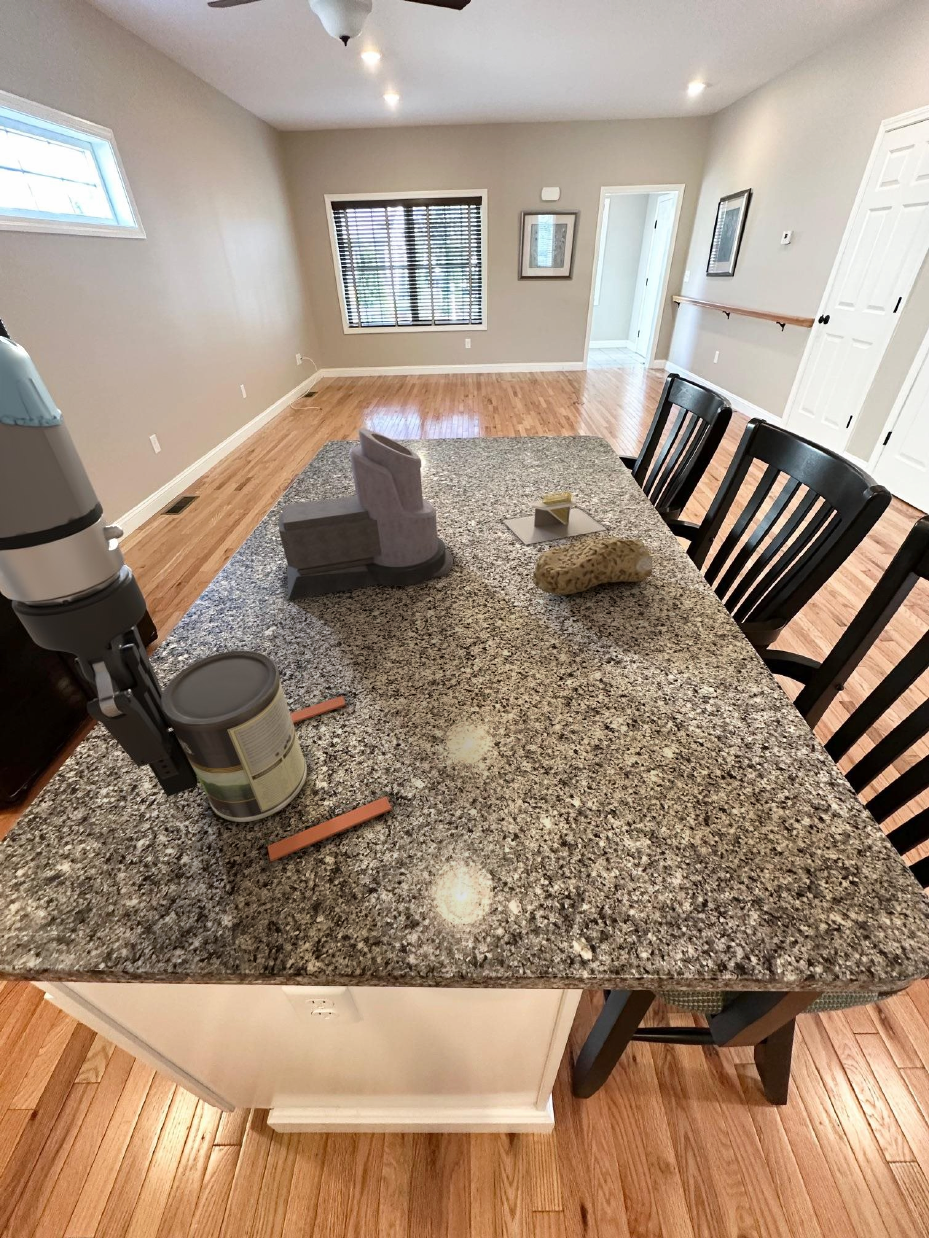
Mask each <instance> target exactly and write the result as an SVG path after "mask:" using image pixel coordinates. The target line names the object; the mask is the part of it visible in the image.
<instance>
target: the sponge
mask: <svg viewBox="0 0 929 1238" xmlns="http://www.w3.org/2000/svg"><path fill="white" fill-rule="evenodd" d="M534 565H535V568H534V571H533V573H532V575H533V580H532V583H533V584H534V585H535V587H537V588H538V589H539V590H541V591H542V592H545V593H550V594H552V595H555V596H559V595H560V596H561V595H573V594H577V593H578V592H579V593H581V592H584V591H587V590H590V588H594V587H596V586H598V585H600V584H608V583H617V582H629V583H638V582H641V581H645V580H646V579H647V578H649V577H650V576H651V575H652V574H653V557H651V555H650V553H649V550H648V549H647V548H646V547H645V544H644V542H643V541H641V540H639V539H637V538H632V539H631V538H630V539H625V538H618V537H611V538H610V537H609V538H608V537H607V538H599V539H589V540H584V541H577V542H573V543H570V544H567V545H561V546H553V547H552V548H549V549H548V550H546V551H545V552H543V553H541V555H539V556H538V560H536V563H535V564H534Z"/></svg>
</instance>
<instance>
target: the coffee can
mask: <svg viewBox="0 0 929 1238" xmlns="http://www.w3.org/2000/svg"><path fill="white" fill-rule="evenodd" d="M280 679H281V673H280V670H279V667H278V665H277V663H276V662H275V661H274V659H272V658H271V657H270V656H268V655H267V654H264V653H262V652H258V651H254V650H242V649H239V650H230V651H228V650H227V651H224V652H220V653H215V654H212V655H209V656H206V657H204V658H202V659H198V660H197V661H195V662H193V663H191V664H190V665H188V666H187V667H185V668H184V669H182V670H181V671H179V672H178V673H177V674H176V675H174V677H173V678H172V679H171V680H170V681H169V682H168V683H167V685H166V686H165V688H164V689H163V690H162V691H163V693H162V697H161V704H160V705H161V710H162V712H163V714H164V716H165V717H166V719H167V720H168V721H169V723H170V725H171V727H172V728H171V729H172V731H173V730H174V732H175V734H176V736H177V738H178V740H179V742H180V744H181V746H182V748H183V750H184V752H185V754H186V756H187V758H188V760H189V762H190V764H191V766H192V767H193V769H194V771H195V773H196V775H197V780H198V782H199V784H200V785H201V787H202V789H203V791H204V793H205V796H206V797H207V800H208V803H209V806H210V808H211V809H212V810H213V811H214V813H215V814H216V815H217V816H219V817H220V818H223V819H225V820H227V821H231V822H235V823H236V822H239V823H247V822H254V821H258V820H261V819H264V818H267V817H270V816H272V815H274V814H276V813H277V812H279V811H280V810H282V809H284V808H285V807H287V806H288V804H290V803H291V802H292V801H293V800H294V799H295V798H296V797H297V796H298V794H299V793H300V792H301V790H302V788H303V786H304V784H305V782H306V778H307V774H308V773H307V772H308V767H307V761H306V758H305V757H304V754H303V751H302V748H301V744H300V742H299V738H298V736H297V731H296V728H295V725H294V723H293V721H292V718H291V715H290V713H291V711H290V709H289V705H288V702H287V698H286V696H285V693H284V689H283V686H282V683H281V680H280Z"/></svg>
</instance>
